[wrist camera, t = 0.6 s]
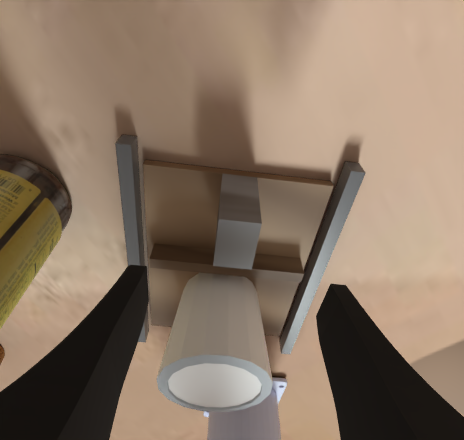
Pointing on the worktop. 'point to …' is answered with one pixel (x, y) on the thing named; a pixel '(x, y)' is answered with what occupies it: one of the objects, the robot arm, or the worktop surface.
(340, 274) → the worktop surface
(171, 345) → the white cup
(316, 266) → the lane rails
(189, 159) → the worktop surface
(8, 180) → the sauce bottle
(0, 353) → the disposable coffee cup
